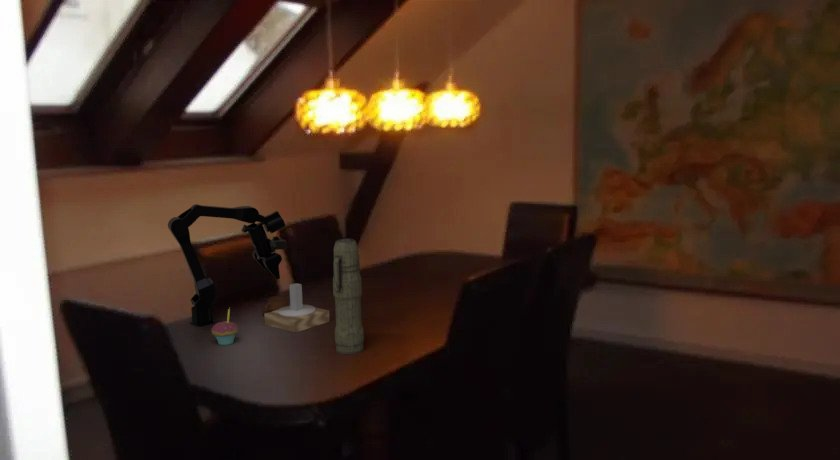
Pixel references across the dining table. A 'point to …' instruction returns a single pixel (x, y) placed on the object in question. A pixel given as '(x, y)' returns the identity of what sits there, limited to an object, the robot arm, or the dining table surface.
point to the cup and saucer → (275, 303)
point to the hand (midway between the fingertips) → (274, 276)
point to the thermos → (347, 297)
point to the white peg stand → (296, 304)
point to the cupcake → (225, 331)
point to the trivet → (296, 320)
